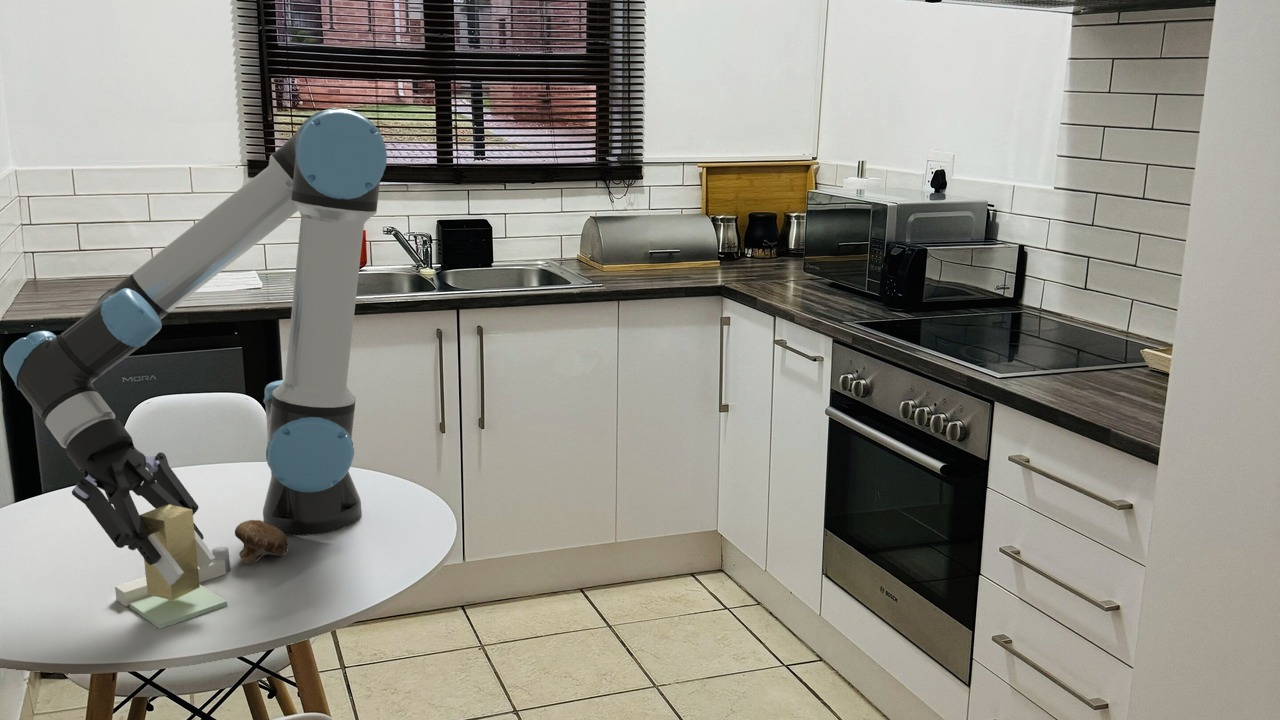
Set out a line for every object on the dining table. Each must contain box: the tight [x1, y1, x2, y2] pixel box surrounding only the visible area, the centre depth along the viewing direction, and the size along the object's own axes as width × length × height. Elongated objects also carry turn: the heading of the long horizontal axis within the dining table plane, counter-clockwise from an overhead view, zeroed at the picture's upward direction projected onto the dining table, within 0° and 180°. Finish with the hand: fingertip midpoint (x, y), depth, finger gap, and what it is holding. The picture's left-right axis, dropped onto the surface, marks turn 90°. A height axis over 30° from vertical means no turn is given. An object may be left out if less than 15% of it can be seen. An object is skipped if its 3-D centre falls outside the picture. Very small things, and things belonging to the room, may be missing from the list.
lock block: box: [139, 504, 201, 601], centre depth 143 cm, size 4×4×11 cm
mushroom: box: [234, 519, 289, 565], centre depth 160 cm, size 8×8×6 cm
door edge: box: [114, 546, 231, 607], centre depth 151 cm, size 15×3×3 cm, turn 137°
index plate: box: [129, 584, 228, 629], centre depth 145 cm, size 9×9×1 cm
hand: (192, 571), depth 142 cm, fingers closed on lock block, 4 cm apart
